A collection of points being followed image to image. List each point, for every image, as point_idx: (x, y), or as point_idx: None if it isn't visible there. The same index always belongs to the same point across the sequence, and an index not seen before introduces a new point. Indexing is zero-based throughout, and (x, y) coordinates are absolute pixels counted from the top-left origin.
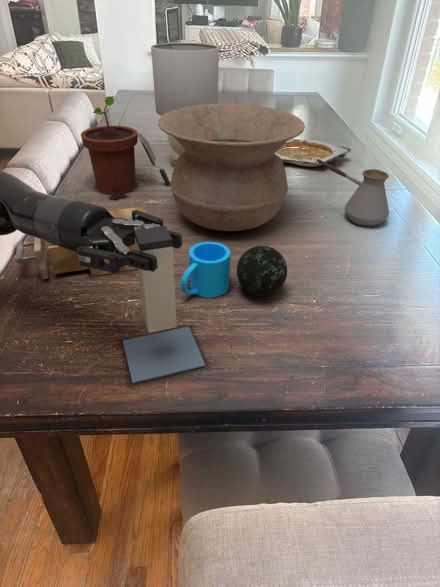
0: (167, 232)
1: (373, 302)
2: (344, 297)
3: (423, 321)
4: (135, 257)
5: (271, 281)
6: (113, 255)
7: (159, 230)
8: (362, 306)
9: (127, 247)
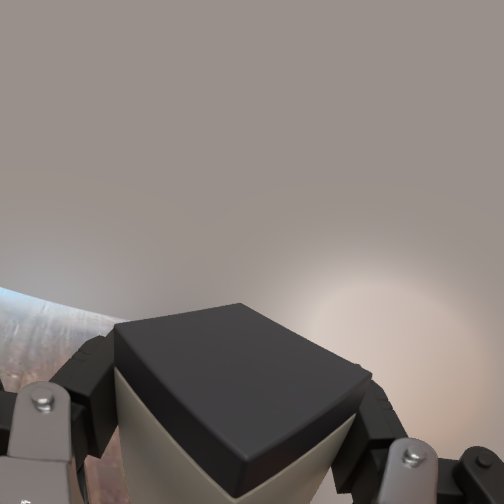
0: (189, 314)
1: (29, 331)
2: (14, 349)
3: (65, 311)
4: (390, 421)
5: (2, 386)
6: (484, 454)
7: (180, 338)
8: (34, 340)
9: (388, 461)
